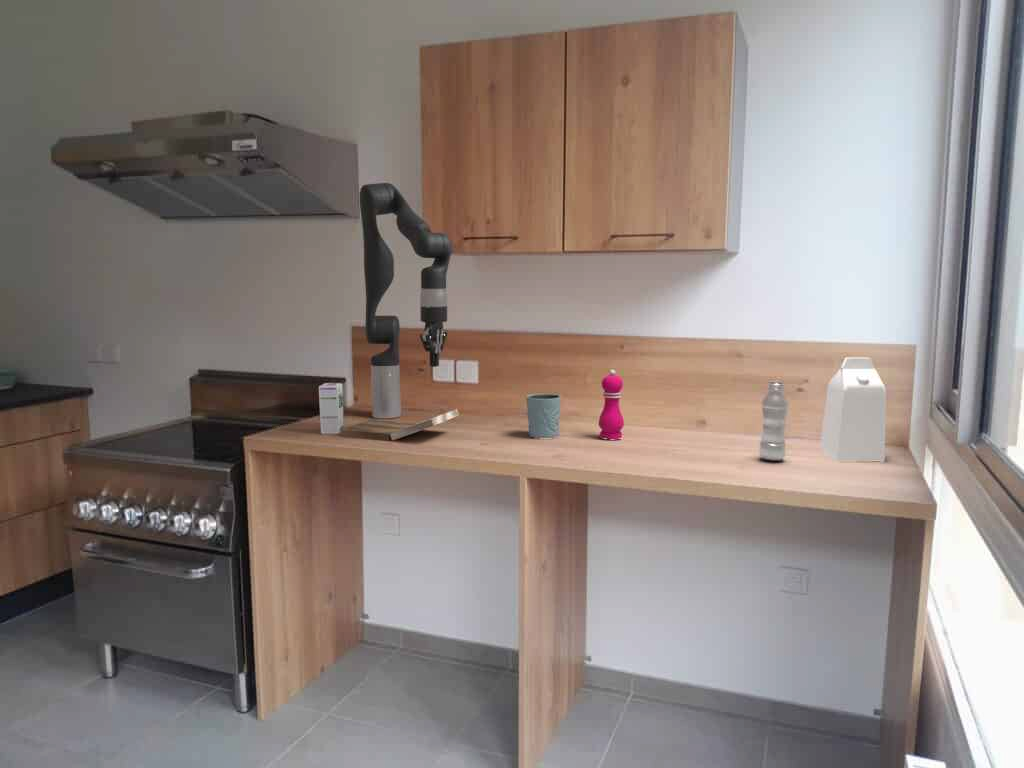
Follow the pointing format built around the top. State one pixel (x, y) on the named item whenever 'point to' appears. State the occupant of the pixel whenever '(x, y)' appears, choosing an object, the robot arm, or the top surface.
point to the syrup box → (331, 408)
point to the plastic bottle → (774, 423)
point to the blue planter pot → (543, 415)
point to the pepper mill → (611, 407)
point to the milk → (855, 413)
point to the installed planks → (375, 429)
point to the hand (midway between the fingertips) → (434, 366)
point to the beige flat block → (424, 424)
